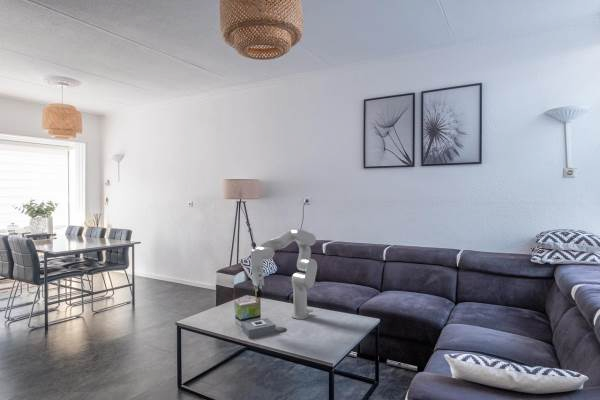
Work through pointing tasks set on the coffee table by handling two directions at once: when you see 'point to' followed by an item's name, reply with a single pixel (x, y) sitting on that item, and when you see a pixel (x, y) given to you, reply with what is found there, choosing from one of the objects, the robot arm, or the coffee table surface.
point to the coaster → (280, 329)
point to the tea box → (247, 311)
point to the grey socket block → (258, 327)
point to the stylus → (257, 298)
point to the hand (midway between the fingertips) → (258, 296)
